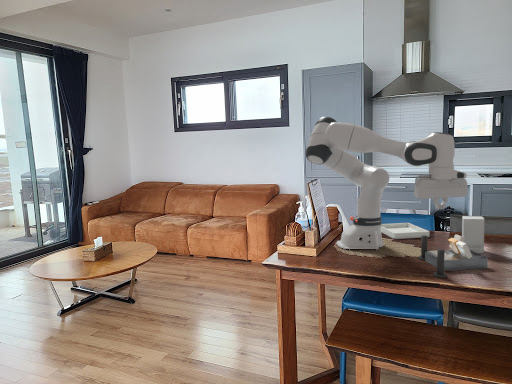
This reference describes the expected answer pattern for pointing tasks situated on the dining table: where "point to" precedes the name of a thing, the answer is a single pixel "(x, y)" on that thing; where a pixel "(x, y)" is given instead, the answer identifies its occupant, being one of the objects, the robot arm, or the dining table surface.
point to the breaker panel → (458, 260)
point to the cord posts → (440, 257)
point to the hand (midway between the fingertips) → (440, 209)
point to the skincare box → (473, 232)
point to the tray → (403, 230)
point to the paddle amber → (454, 245)
